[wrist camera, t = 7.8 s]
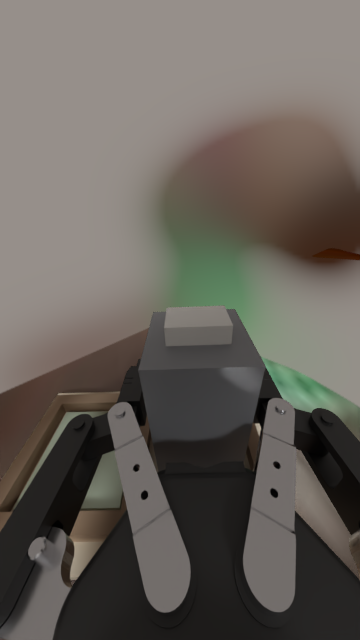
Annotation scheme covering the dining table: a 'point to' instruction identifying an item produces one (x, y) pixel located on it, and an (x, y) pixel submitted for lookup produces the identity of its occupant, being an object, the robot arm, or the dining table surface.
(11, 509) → the dock
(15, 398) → the dining table surface
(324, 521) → the dining table surface
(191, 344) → the plug
